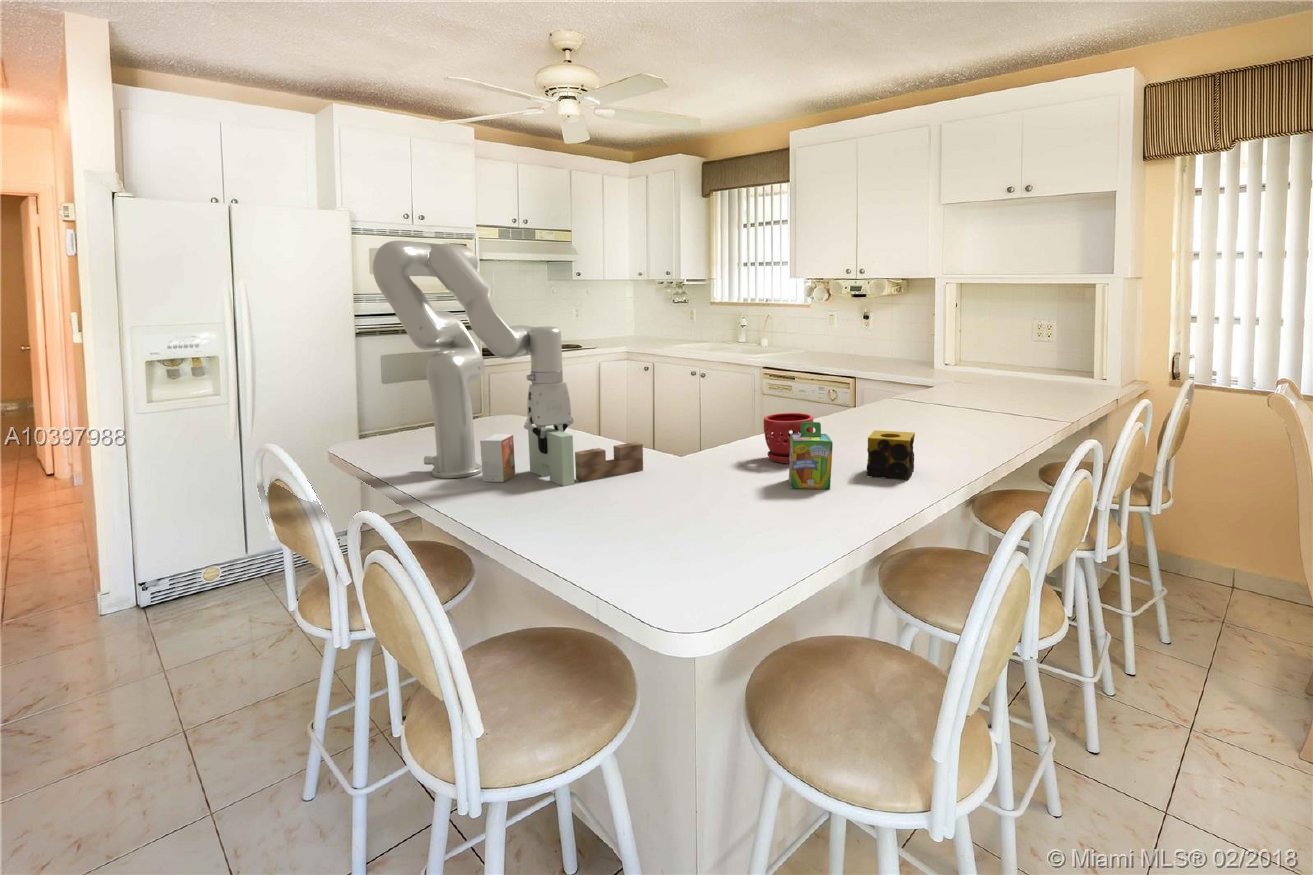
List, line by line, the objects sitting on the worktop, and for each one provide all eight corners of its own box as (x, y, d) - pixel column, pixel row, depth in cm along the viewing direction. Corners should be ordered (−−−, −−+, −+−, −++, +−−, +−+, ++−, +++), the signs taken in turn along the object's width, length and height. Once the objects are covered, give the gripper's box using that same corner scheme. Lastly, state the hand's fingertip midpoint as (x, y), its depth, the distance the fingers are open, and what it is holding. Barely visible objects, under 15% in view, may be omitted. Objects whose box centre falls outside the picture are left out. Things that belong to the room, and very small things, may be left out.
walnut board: (582, 482, 180) (581, 454, 178) (575, 479, 182) (574, 452, 181) (643, 470, 190) (642, 443, 188) (636, 468, 192) (636, 442, 191)
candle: (914, 471, 185) (916, 432, 183) (909, 481, 176) (911, 440, 174) (872, 467, 190) (874, 429, 188) (865, 477, 181) (867, 437, 179)
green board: (530, 471, 191) (527, 425, 188) (540, 469, 193) (538, 424, 190) (563, 486, 176) (561, 437, 174) (574, 484, 178) (572, 435, 176)
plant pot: (797, 452, 207) (798, 410, 204) (821, 463, 195) (823, 418, 192) (754, 456, 203) (755, 413, 200) (777, 467, 191) (778, 422, 188)
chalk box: (791, 489, 171) (792, 426, 168) (788, 479, 180) (789, 419, 177) (831, 490, 170) (833, 426, 167) (826, 479, 179) (828, 419, 176)
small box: (503, 482, 180) (501, 440, 178) (482, 482, 181) (479, 440, 179) (516, 474, 188) (513, 434, 186) (495, 473, 189) (493, 433, 187)
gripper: (522, 382, 172) (526, 459, 176) (584, 376, 181) (586, 450, 185) (509, 379, 178) (513, 453, 182) (569, 373, 187) (572, 444, 191)
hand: (550, 451), depth 183 cm, fingers closed on green board, 3 cm apart
